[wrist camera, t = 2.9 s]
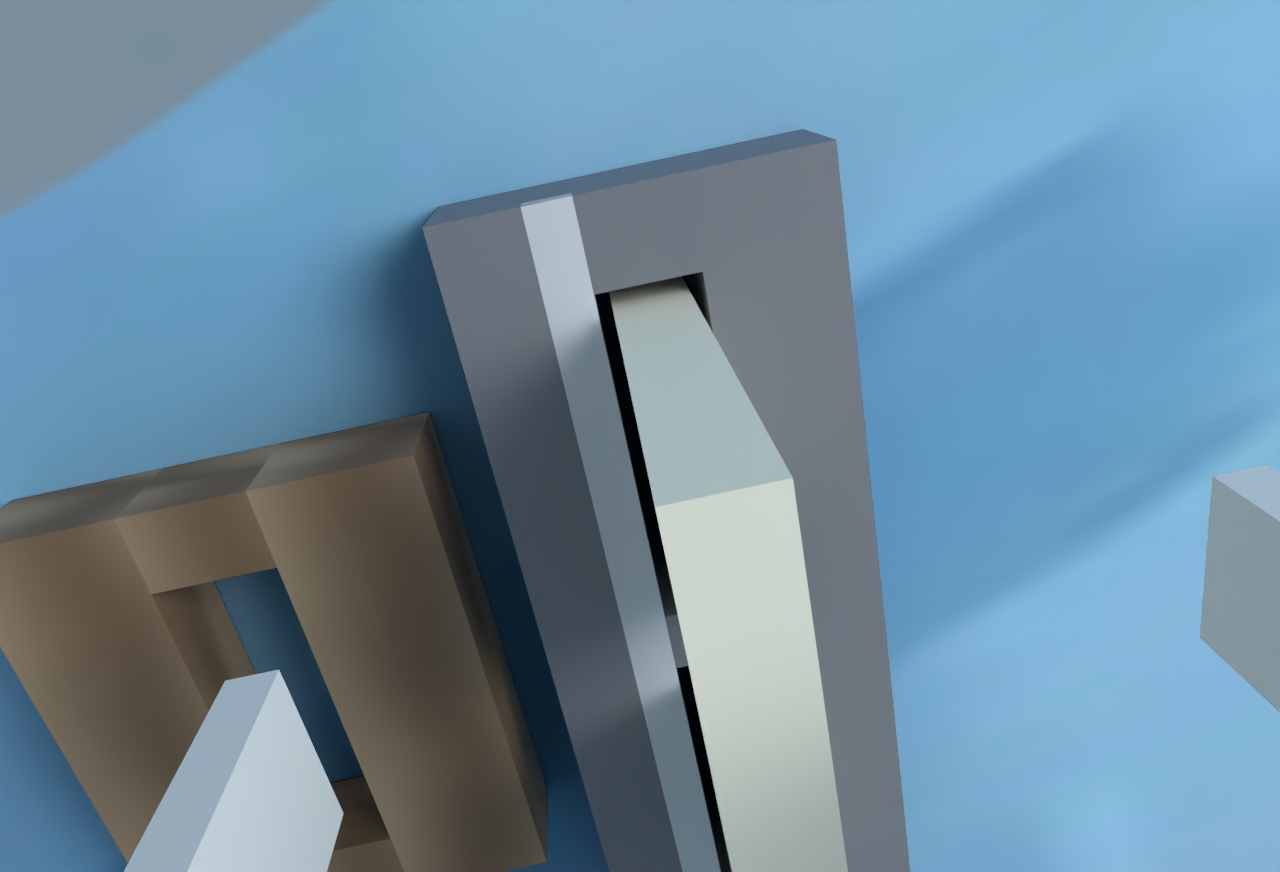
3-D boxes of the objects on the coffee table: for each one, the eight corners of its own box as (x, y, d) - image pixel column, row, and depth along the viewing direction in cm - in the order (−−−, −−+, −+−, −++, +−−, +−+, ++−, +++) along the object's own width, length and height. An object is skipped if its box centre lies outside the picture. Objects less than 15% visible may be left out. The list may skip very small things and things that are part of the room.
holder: (207, 862, 26) (173, 941, 24) (12, 500, 21) (-55, 554, 19) (547, 790, 26) (546, 862, 24) (429, 412, 21) (414, 455, 19)
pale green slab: (663, 544, 23) (743, 926, 13) (606, 281, 20) (654, 507, 10) (723, 532, 23) (852, 903, 13) (675, 266, 20) (792, 478, 10)
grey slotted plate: (629, 888, 28) (635, 964, 25) (438, 206, 19) (422, 227, 17) (884, 834, 28) (913, 905, 25) (802, 129, 19) (836, 139, 17)
